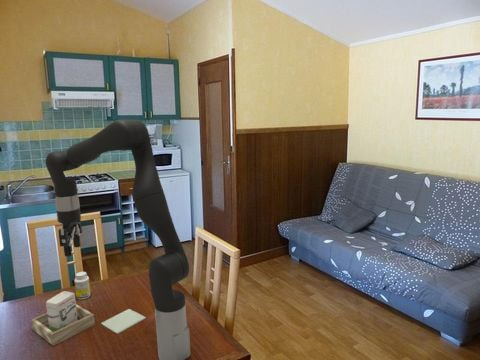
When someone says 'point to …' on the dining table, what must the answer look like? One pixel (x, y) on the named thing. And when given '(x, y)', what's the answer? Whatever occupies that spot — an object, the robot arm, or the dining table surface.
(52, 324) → the ink box
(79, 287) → the supplement bottle
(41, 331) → the frame
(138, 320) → the sage mat
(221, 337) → the dining table surface
